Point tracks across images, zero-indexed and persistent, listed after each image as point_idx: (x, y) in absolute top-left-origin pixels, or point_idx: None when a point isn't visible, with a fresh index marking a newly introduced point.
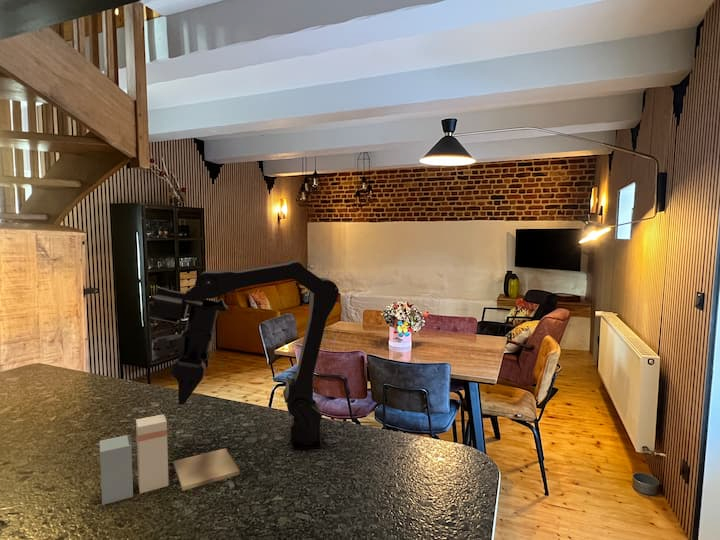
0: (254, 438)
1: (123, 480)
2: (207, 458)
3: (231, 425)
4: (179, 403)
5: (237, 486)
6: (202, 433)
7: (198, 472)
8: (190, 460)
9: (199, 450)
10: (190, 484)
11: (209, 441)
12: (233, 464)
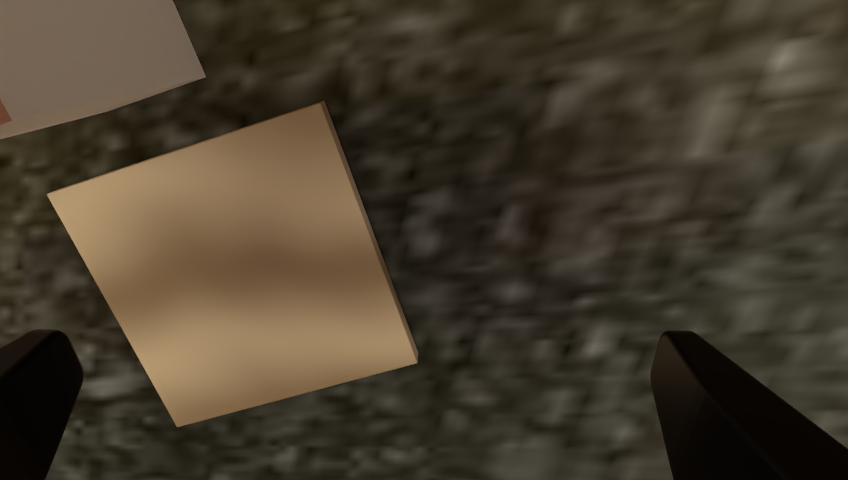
0: (529, 474)
1: None
2: (318, 284)
3: (743, 369)
4: (32, 338)
5: (91, 407)
6: (695, 217)
7: (177, 254)
8: (310, 199)
9: (467, 222)
10: (67, 228)
11: (567, 266)
12: (238, 402)
